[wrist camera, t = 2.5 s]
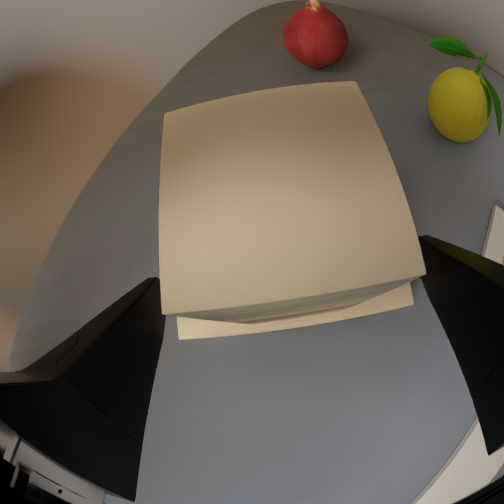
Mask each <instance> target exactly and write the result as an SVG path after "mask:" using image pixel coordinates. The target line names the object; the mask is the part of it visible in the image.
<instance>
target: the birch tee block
mask: <svg viewBox="0 0 504 504" xmlns="http://www.w3.org/2000/svg"><path fill="white" fill-rule="evenodd" d="M159 266H160V290H161V307H162V314H163V315H171V316H177V325H178V336H179V340H182V339H197V338H210V337H222V336H232V335H242V334H251V333H260V332H268V331H276V330H283V329H290V328H297V327H304V326H310V325H316V324H322V323H328V322H334V321H340V320H345V319H350V318H356V317H361V316H366V315H371V314H375V313H380V312H385V311H389V310H394V309H398V308H402V307H407V306H411V305H414V302H413V296H412V290H411V285H410V282H411V281H413V280H415V279H417V278H419V277H421V276H423V275H425V274H426V269H425V265H424V260H423V256H422V252H421V248H420V244H419V240H418V236H417V233H416V229H415V225H414V222H413V218H412V215H411V212H410V209H409V205H408V202H407V199H406V196H405V193H404V190H403V187H402V184H401V182H400V179H399V176H398V173H397V171H396V168H395V165H394V163H393V160H392V158H391V155H390V153H389V150H388V148H387V146H386V143H385V141H384V138H383V136H382V134H381V132H380V129H379V127H378V125H377V123H376V121H375V119H374V116H373V114H372V112H371V110H370V108H369V106H368V104H367V102H366V100H365V98H364V96H363V94H362V92H361V91H360V89H359V87H358V85H357V83H356V81H343V82H327V83H315V84H305V85H296V86H288V87H280V88H273V89H267V90H261V91H255V92H249V93H244V94H239V95H234V96H229V97H225V98H220V99H216V100H212V101H208V102H204V103H200V104H196V105H192V106H188V107H185V108H181V109H178V110H174V111H171V112H168V113H165V114H164V124H163V136H162V150H161V166H160V190H159Z"/></svg>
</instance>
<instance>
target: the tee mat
mask: <svg viewBox="0 0 504 504" xmlns="http://www.w3.org/2000/svg"><path fill="white" fill-rule="evenodd" d="M481 256H483V257H486V258H488V259H491V260H493V261H495V262H498V263H500V264H502V265H504V211H503V210H502V209H501V208H499V207H498V206H497V205H495V206H494V207H493V208H492V213H491V217H490V222H489V226H488V230H487V234H486V238H485V242H484V246H483V249H482V253H481ZM503 463H504V447H502V448H501V449H499V450H498V451H496V452H494V453H493V454H491V455H489V456H488V453H487V450H486V446H485V441H484V438H483V434H482V430H481V426H480V423H479V420H478V416H477V417H476V419H475V420H474V422H473V423H472V425H471V427H470V428H469V430H468V431H467V433H466V435H465V436H464V438H463V439H462V441H461V442H460V443H459V445H458V446H457V448H456V449H455V451H454V452H453V453H452V455H451V456H450V457H449V459H448V460H447V461H446V463H445V464H444V465H443V467H442V468H441V469H440V470H439V472H438V473H437V474H436V475H435V477H434V478H433V479H432V480H431V481H430V482H429V484H428V485H427V486H426V487H425V488H424V489H423V490H422V491H421V493H420V494H419V495H418V496H417V497H416V498H415V499H414V500H413V501H412V502H411V503H410V504H452V503H454V502H456V501H458V500H460V499H462V498H464V497H466V496H468V495H470V494H471V493H473V492H475V491H477V490H479V489H480V488H482V487H484V486H485V485H487V484H489V483H490V481H491V480H492V479H493V477H494V476H495V475H496V473H497V472H498V470H499V469H500V468H501V466H502V465H503Z"/></svg>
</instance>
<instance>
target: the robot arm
mask: <svg viewBox="0 0 504 504" xmlns="http://www.w3.org/2000/svg"><path fill="white" fill-rule="evenodd" d="M418 240H419V244H420V248H421V252H422V256H423V260H424V265H425V269H426V274H425V275H423V276H421V277H420V278H421V280H422V282H423V285H424V287H425V290H426V292H427V295H428V297H429V299H430V301H431V303H432V305H433V307H434V309H435V311H436V313H437V315H438V317H439V319H440V322H441V324H442V326H443V328H444V330H445V332H446V334H447V337H448V339H449V341H450V343H451V346H452V348H453V350H454V353H455V355H456V357H457V360H458V362H459V365H460V367H461V370H462V372H463V375H464V378H465V380H466V383H467V386H468V388H469V391H470V394H471V397H472V400H473V404H474V407H475V410H476V413H477V416H478V420H479V423H480V426H481V430H482V434H483V438H484V441H485V446H486V450H487V453H488V456H489V455H491V454H493V453H494V452H496V451H498V450H499V449H501V448H502V447H504V265H502V264H500V263H498V262H495V261H493V260H491V259H488V258H486V257H483V256H481V255H478V254H476V253H473V252H471V251H468V250H466V249H463V248H461V247H458V246H455V245H453V244H450V243H447V242H445V241H442V240H439V239H437V238H434V237H431V236H428V235H424V236H419V237H418ZM165 320H166V315H163V314H162V307H161V290H160V279H159V278H157V277H153V278H148V279H146V280H144V281H143V282H142V283H140V284H139V285H138V286H136V287H135V288H133V289H132V290H131V291H129V292H128V293H127V294H125V295H124V296H123V297H121V298H120V299H118V300H117V301H116V302H114V303H113V304H112V305H110V306H109V307H108V308H106V309H105V310H104V311H102V312H101V313H100V314H99V315H97V316H96V317H95V318H93V319H92V320H91V321H89V322H88V323H87V324H85V325H84V326H83V327H82V328H80V330H78V331H76V332H75V333H74V334H72V335H71V336H70V337H69V338H67V339H66V340H65V341H63V342H62V343H61V344H59V345H58V346H56V347H55V348H54V349H52V350H51V351H50V352H48V353H47V354H45V355H44V356H42V357H41V358H40V359H38V360H37V361H35V362H34V363H33V364H31V365H30V366H28V367H27V368H25V369H23V370H20V371H17V372H0V504H105V503H104V499H105V495H106V494H109V495H112V496H115V497H118V498H122V499H125V500H129V501H132V502H135V498H136V489H137V481H138V473H139V465H140V458H141V452H142V444H143V438H144V431H145V425H146V420H147V414H148V409H149V403H150V398H151V393H152V388H153V383H154V378H155V373H156V368H157V364H158V359H159V355H160V350H161V346H162V341H163V336H164V329H165ZM452 504H504V474H503V475H502V476H500V477H498V478H497V479H495V480H494V481H492V482H490V483H489V484H487V485H485V486H484V487H482V488H480V489H479V490H477V491H475V492H473V493H471V494H470V495H468V496H466V497H464V498H462V499H460V500H458V501H456V502H454V503H452Z"/></svg>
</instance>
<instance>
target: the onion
mask: <svg viewBox="0 0 504 504" xmlns="http://www.w3.org/2000/svg"><path fill="white" fill-rule="evenodd" d="M305 5H306V7H304V8H301V9H299V10H298V11H296V12H295V13H293V14H292V15H291V17H290V18H289V19H288V20H287V22H286V24H285V26H284V30H283V42H284V45H285V48H286V49H287V51H288V52H289V53H290V54H291V55H292V57H293V58H294V59H296V60H298V61H300V62H301V63H303V64H305V65H308V66H310V67H312V68H314V69H319V68H322V67H325V66H328V65H331V64H334V63H336V62H338V61H339V60H340V59H341V58H342V57H343V55H344V54H345V52H346V50H347V47H348V35H347V31H346V28H345V26H344V24H343V23H342V21H341V20H340V19H339V18H338V17H337V16H336V15H335V14H334V13H333V12H332V11H330V10H329V9H327V8H325V7H323V6H322V5H321V3H319V2H318V1H316V0H310V1H308V2H307V3H305Z"/></svg>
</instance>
